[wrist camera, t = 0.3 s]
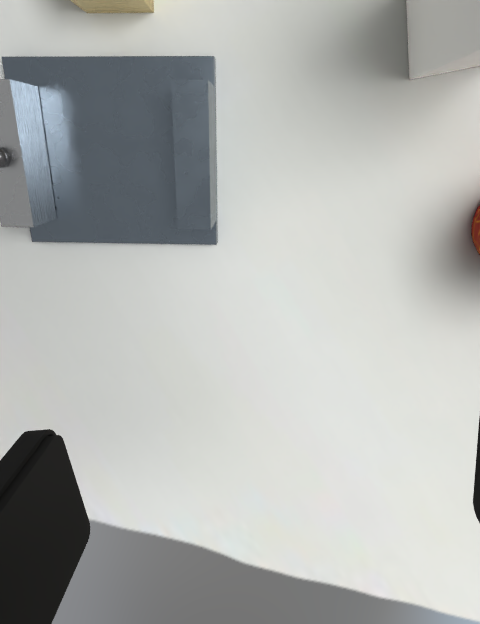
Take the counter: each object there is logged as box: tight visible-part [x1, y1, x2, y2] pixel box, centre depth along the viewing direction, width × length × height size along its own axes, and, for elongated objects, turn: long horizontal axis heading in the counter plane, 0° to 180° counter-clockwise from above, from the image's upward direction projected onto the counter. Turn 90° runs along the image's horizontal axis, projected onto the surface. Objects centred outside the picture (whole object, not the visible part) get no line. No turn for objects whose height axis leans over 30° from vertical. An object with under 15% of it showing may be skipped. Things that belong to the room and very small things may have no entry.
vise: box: [2, 56, 218, 245], centre depth 34 cm, size 14×16×5 cm
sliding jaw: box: [0, 79, 57, 227], centre depth 33 cm, size 10×2×5 cm, turn 0°
